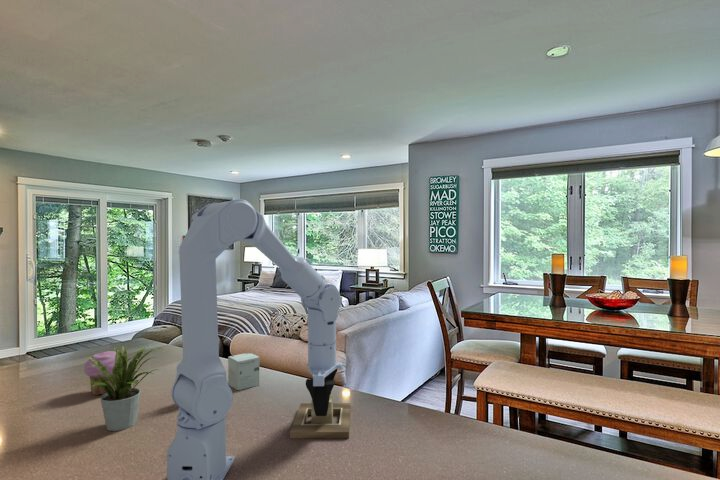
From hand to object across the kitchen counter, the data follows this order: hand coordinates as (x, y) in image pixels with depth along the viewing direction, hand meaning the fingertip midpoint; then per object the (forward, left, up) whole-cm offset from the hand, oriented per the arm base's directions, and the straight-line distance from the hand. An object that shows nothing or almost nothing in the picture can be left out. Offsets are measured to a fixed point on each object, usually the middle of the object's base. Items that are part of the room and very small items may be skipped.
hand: (322, 409), depth 81 cm
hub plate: (0, 0, -3) cm, 3 cm away
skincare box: (+22, +22, -3) cm, 31 cm away
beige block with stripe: (0, 0, -3) cm, 3 cm away
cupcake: (+18, +56, -3) cm, 58 cm away
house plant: (0, +40, -3) cm, 40 cm away
